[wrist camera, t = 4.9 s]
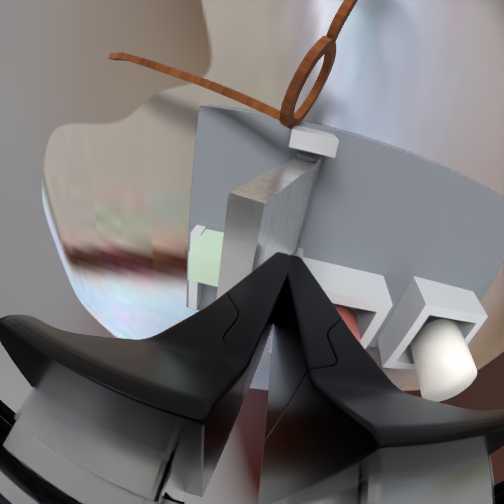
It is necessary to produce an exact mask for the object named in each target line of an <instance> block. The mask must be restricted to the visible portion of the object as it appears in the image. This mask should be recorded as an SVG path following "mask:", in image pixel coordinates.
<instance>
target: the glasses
mask: <svg viewBox="0 0 504 504" xmlns="http://www.w3.org/2000/svg"><path fill="white" fill-rule="evenodd" d="M356 2H357V0H344V1H343V3H342V5H341V6H340V8H339V10H338V12H337V13H336V15H335V17H334V19H333V21H332V23H331V25H330V28H329V30H328V33H327V35H326V36H323V37H322V38H321V39H320V40H318V41H317V42H316V44H315V45H314V46H313V47H312V48H311V49H310V51H309V52H308V53H307V55H306V56H305V58H304V59H303V61H302V62H301V64H300V66H299V67H298V69H297V71H296V73H295V75H294V77H293V79H292V81H291V83H290V85H289V87H288V90H287V92H286V95H285V97H284V100H283V103H282V107H281V111H279V110H277V109H275V108H273V107H271V106H269V105H267V104H264V103H262V102H260V101H258V100H256V99H253V98H251V97H249V96H247V95H244V94H242V93H240V92H237V91H235V90H232V89H230V88H228V87H225V86H223V85H220V84H217V83H215V82H212V81H210V80H207V79H204V78H201V77H199V76H196V75H193V74H190V73H187V72H184V71H181V70H178V69H175V68H172V67H169V66H166V65H163V64H160V63H157V62H154V61H151V60H147V59H144V58H141V57H137V56H133V55H130V54H126V53H111V54H110V55H109V59H113V60H125V61H130V62H133V63H136V64H140V65H143V66H146V67H149V68H151V69H154V70H157V71H160V72H163V73H166V74H169V75H171V76H175V77H177V78H180V79H183V80H186V81H189V82H191V83H194V84H197V85H199V86H202V87H205V88H207V89H210V90H212V91H215V92H217V93H220V94H222V95H225V96H227V97H229V98H232V99H234V100H236V101H238V102H241V103H243V104H245V105H247V106H250V107H252V108H254V109H256V110H258V111H260V112H262V113H265V114H267V115H269V116H271V117H273V118H275V119H277V120H279V121H280V123H281V124H282V125H283V126H285V127H287V128H289V129H293V126H297V125H298V124H299V123H300V122H301V121H302V120H303V119H304V117H305V116H306V115H307V113H308V112H309V110H310V109H311V107H312V106H313V104H314V102H315V101H316V99H317V97H318V95H319V94H320V92H321V90H322V88H323V86H324V84H325V82H326V80H327V78H328V76H329V74H330V71H331V69H332V66H333V63H334V60H335V55H336V43H335V42H336V39H337V37H338V35H339V33H340V31H341V29H342V27H343V25H344V23H345V21H346V20H347V18H348V16H349V14H350V12H351V11H352V9H353V7H354V6H355V4H356ZM323 55H324V62H323V66H322V69H321V71H320V74H319V76H318V78H317V80H316V82H315V84H314V86H313V88H312V90H311V92H310V93H309V95H308V97H307V98H306V100H305V101H304V103H303V104H302V106H301V107H300V108H299V109H298V110H297V112H295V113H294V109H295V105H296V102H297V99H298V97H299V94H300V92H301V90H302V88H303V86H304V84H305V82H306V80H307V78H308V76H309V74H310V72H311V71H312V69H313V68H314V66H315V65H316V63H317V62H318V60H319V59H320V58H321V57H322V56H323Z"/></svg>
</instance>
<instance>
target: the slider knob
mask: <svg viewBox="0 0 504 504" xmlns="http://www.w3.org/2000/svg"><path fill="white" fill-rule="evenodd" d="M223 236H224V233H223V232H219V231H214V230H210V229H205V230H204V232H203V233H202V234H201V236H200V237H199V239H198V240H197V241H196V243H195V244H194V246H193V247H192V248H191V250H190V251H189V259H188V280H192V281H196V282H199V283H203V284H207V285H211V286H215V287H218V280H219V271H220V262H221V253H222V244H223Z"/></svg>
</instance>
